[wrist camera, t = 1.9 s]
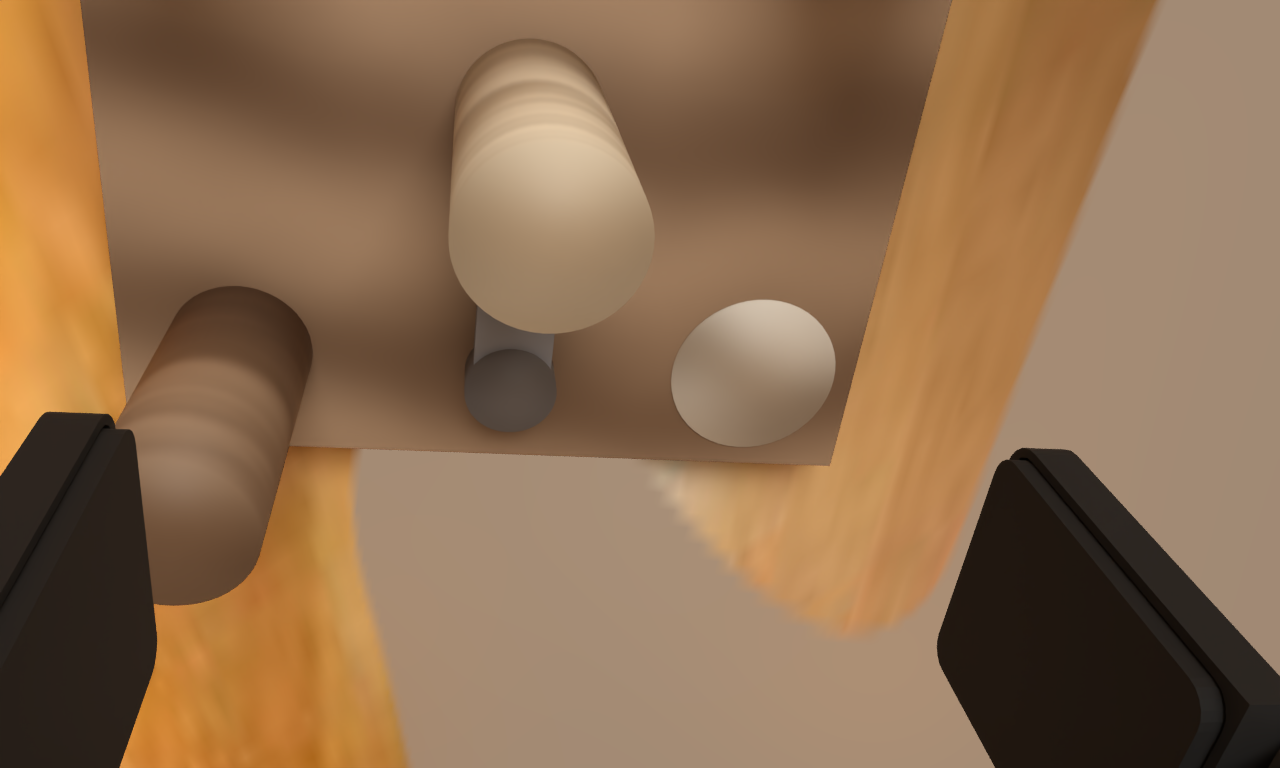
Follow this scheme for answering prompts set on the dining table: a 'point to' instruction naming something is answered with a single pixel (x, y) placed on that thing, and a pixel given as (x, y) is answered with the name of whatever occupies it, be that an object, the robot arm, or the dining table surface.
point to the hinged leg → (538, 221)
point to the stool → (419, 246)
